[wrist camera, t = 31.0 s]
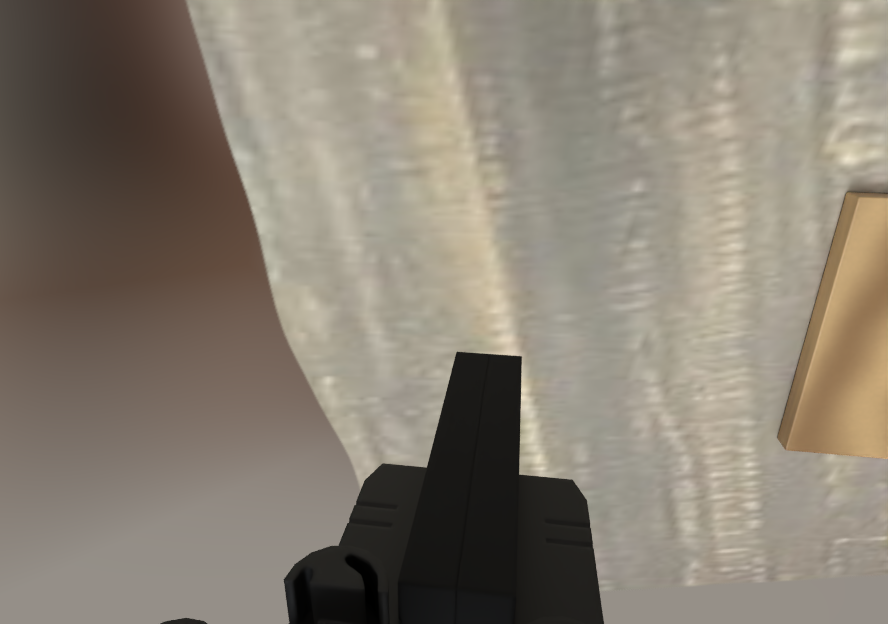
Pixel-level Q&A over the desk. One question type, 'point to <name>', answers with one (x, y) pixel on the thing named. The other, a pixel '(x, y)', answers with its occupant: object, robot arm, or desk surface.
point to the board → (846, 343)
